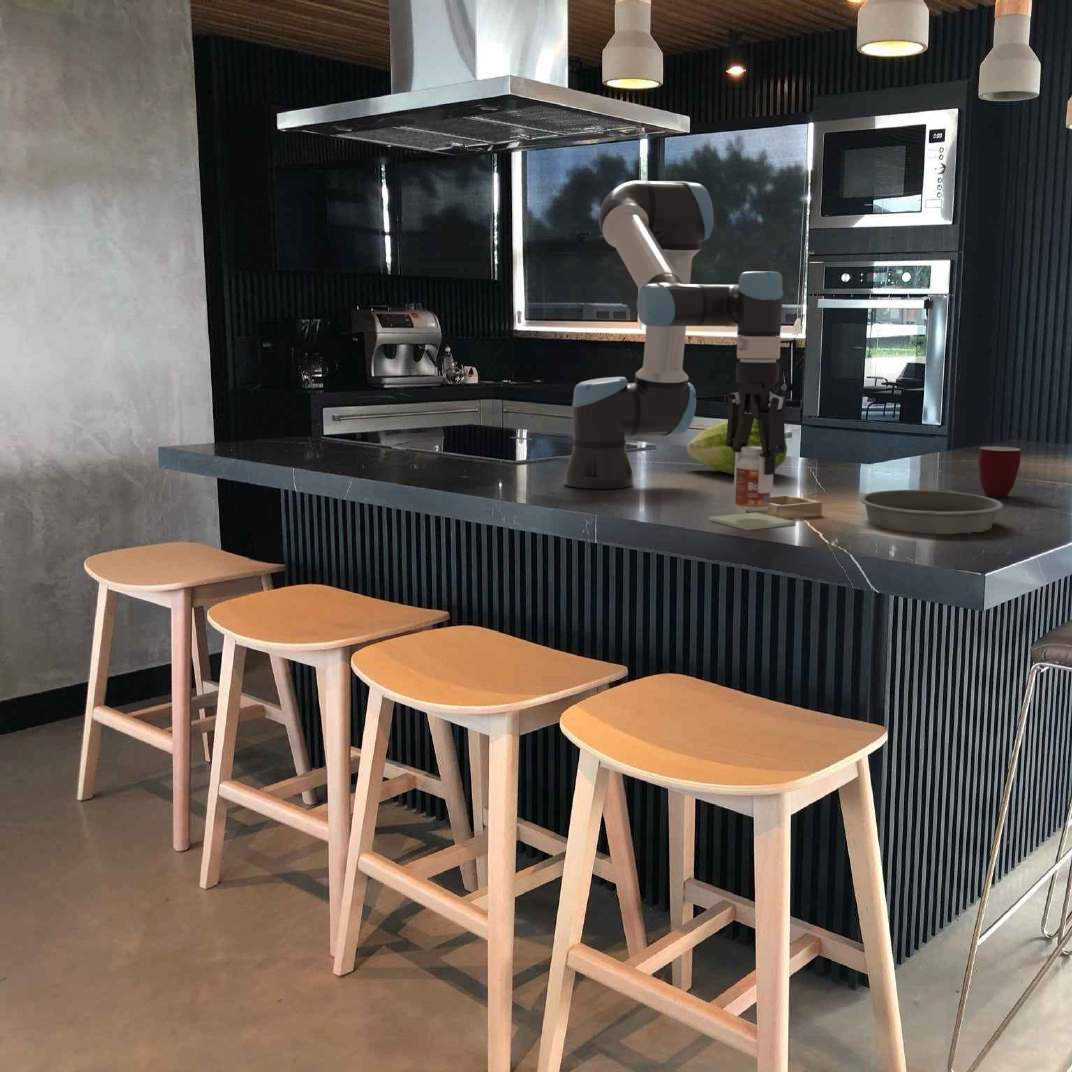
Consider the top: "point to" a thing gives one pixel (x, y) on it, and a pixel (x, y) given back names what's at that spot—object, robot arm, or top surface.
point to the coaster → (752, 521)
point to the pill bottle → (750, 481)
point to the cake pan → (930, 511)
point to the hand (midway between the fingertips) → (753, 489)
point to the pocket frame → (791, 507)
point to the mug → (998, 470)
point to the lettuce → (722, 447)
